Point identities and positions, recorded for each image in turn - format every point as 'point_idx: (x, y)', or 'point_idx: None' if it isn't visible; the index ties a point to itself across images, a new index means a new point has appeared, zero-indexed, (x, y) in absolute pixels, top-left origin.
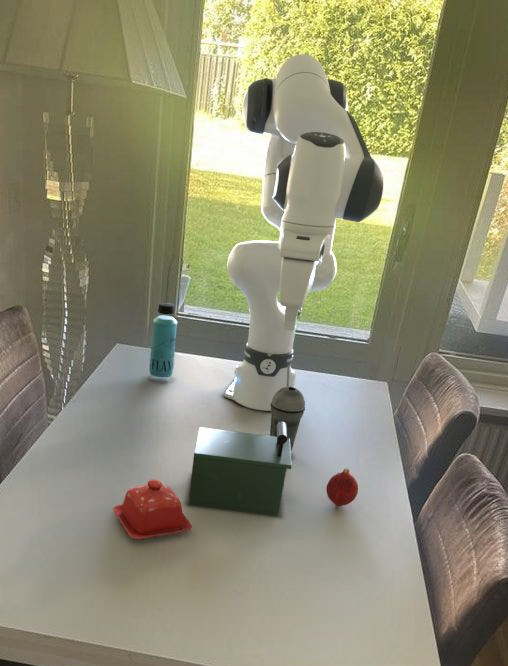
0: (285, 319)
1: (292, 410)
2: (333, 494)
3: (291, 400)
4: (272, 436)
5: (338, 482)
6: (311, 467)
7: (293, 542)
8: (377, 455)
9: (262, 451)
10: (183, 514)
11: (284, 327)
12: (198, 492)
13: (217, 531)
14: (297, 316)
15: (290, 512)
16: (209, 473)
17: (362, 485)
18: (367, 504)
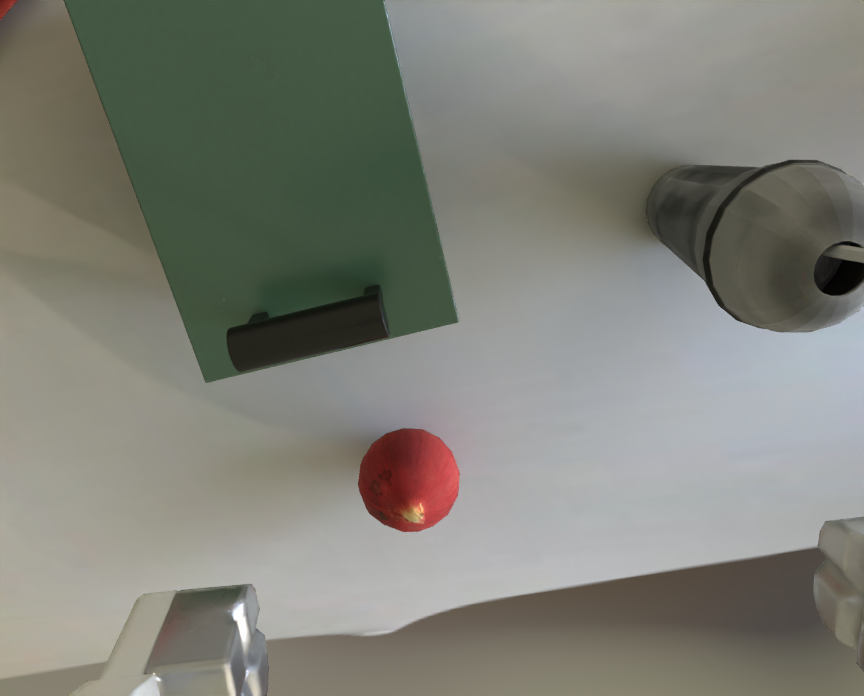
0: (105, 677)
1: (715, 287)
2: (363, 459)
3: (748, 284)
4: (438, 251)
5: (373, 486)
6: (636, 330)
7: (125, 373)
8: (817, 505)
9: (261, 248)
10: (3, 9)
11: (141, 602)
12: None
13: (38, 146)
14: (829, 596)
15: None
16: None
17: (578, 491)
18: (461, 518)
